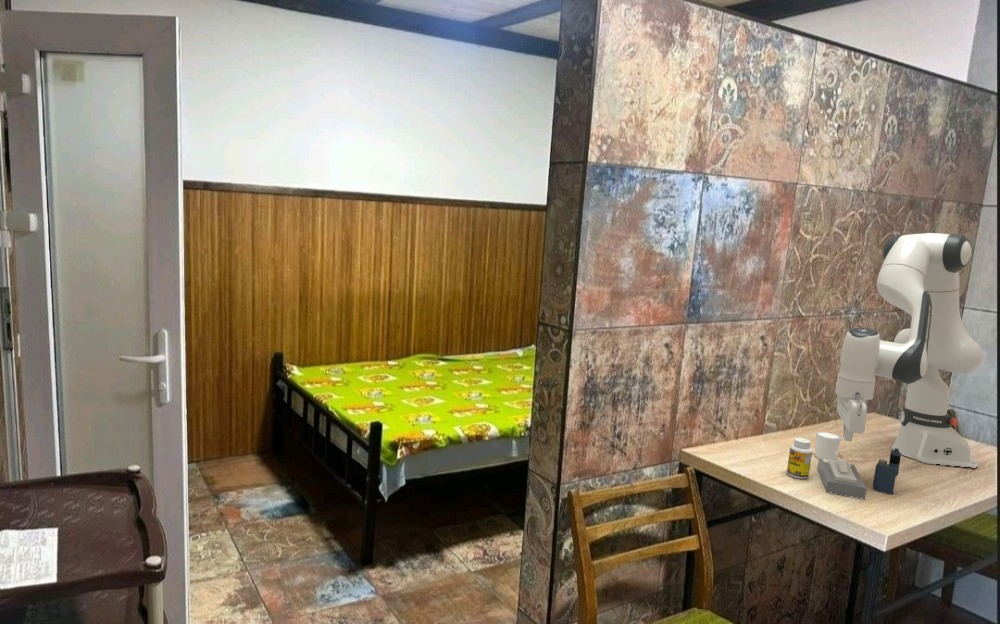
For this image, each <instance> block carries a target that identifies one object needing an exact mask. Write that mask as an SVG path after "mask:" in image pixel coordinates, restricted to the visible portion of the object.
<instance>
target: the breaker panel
mask: <svg viewBox="0 0 1000 624" xmlns="http://www.w3.org/2000/svg"><path fill="white" fill-rule="evenodd" d="M846 463H847V470H848V472H841V471H840V469H839V466H838V465H837V462H836V460H832V459H828V460H827V459H819V458H818V461H817V467H816V468H817V472H818V474H819V477H820V481H821V482H822V485H824V486H823V488H825V489H824V491H825V490H826V491H825V493H827V492H832V493H831V494H833V493H837V494H836V495H838V494H842V495H841V496H844V495H847V496H846V497H849V496H853V497H852V498H854V497H858V498H857V499H860V498H863V499H862V500H865V499H866V492H867V486H866V485H865V483H864V481H863V479H862V477H861V476H860V473H859V472H858V470H857V467H856V465H855V464H852V463H850V462H848V461H846Z"/></svg>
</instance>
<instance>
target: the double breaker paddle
mask: <svg viewBox="0 0 1000 624" xmlns="http://www.w3.org/2000/svg"><path fill="white" fill-rule="evenodd" d="M835 456H836V462H837V465H838V466H839V469H840V471H841V472H848V470H847V463H846V462H847V460H846V458H845V456H844V454H843V452H842V450H840V451H839V450H838V451H836V452H835Z"/></svg>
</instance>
